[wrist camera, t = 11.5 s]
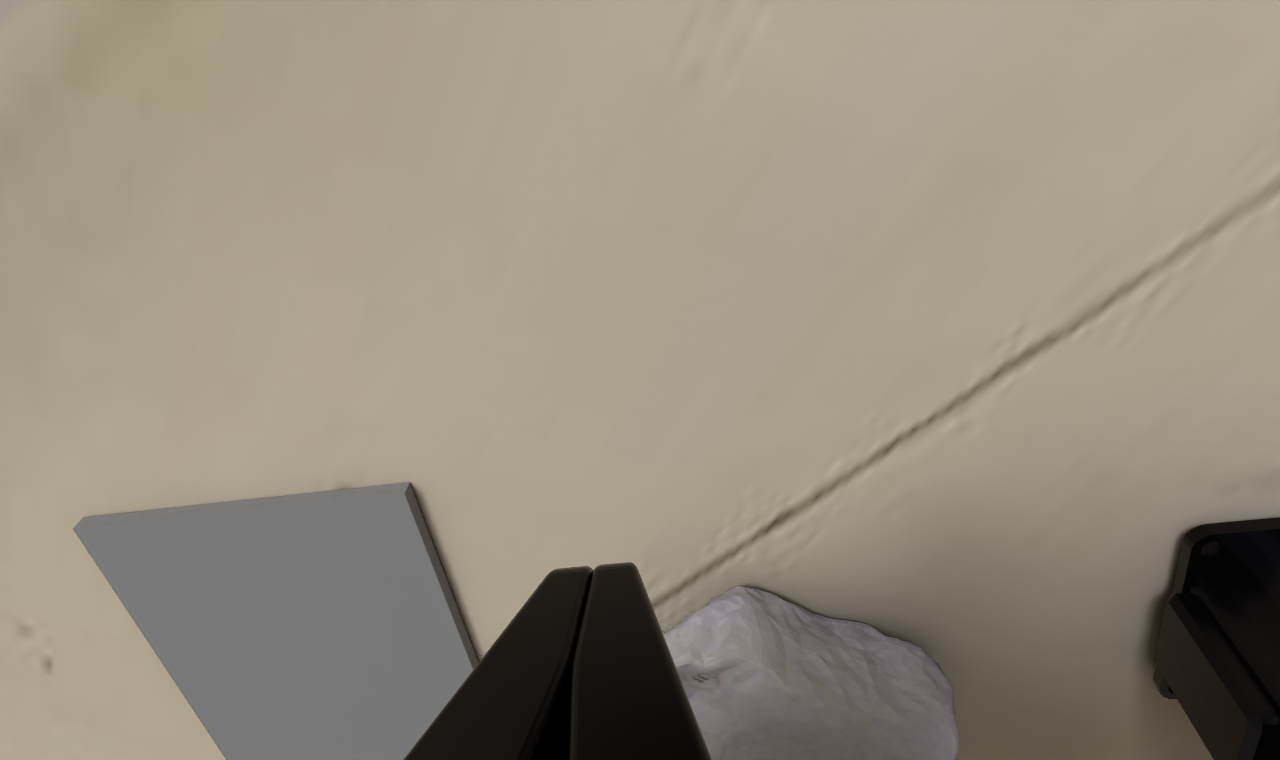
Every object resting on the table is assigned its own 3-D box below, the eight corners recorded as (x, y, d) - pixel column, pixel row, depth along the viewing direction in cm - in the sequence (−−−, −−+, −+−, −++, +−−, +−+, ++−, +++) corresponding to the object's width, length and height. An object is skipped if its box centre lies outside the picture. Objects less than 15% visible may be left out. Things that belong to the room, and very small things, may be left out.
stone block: (536, 728, 31) (774, 853, 31) (489, 846, 26) (766, 991, 26) (681, 496, 25) (969, 649, 25) (651, 597, 21) (998, 780, 21)
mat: (409, 482, 23) (404, 493, 23) (526, 788, 30) (524, 800, 30) (83, 517, 24) (73, 528, 24) (269, 803, 31) (263, 815, 31)
